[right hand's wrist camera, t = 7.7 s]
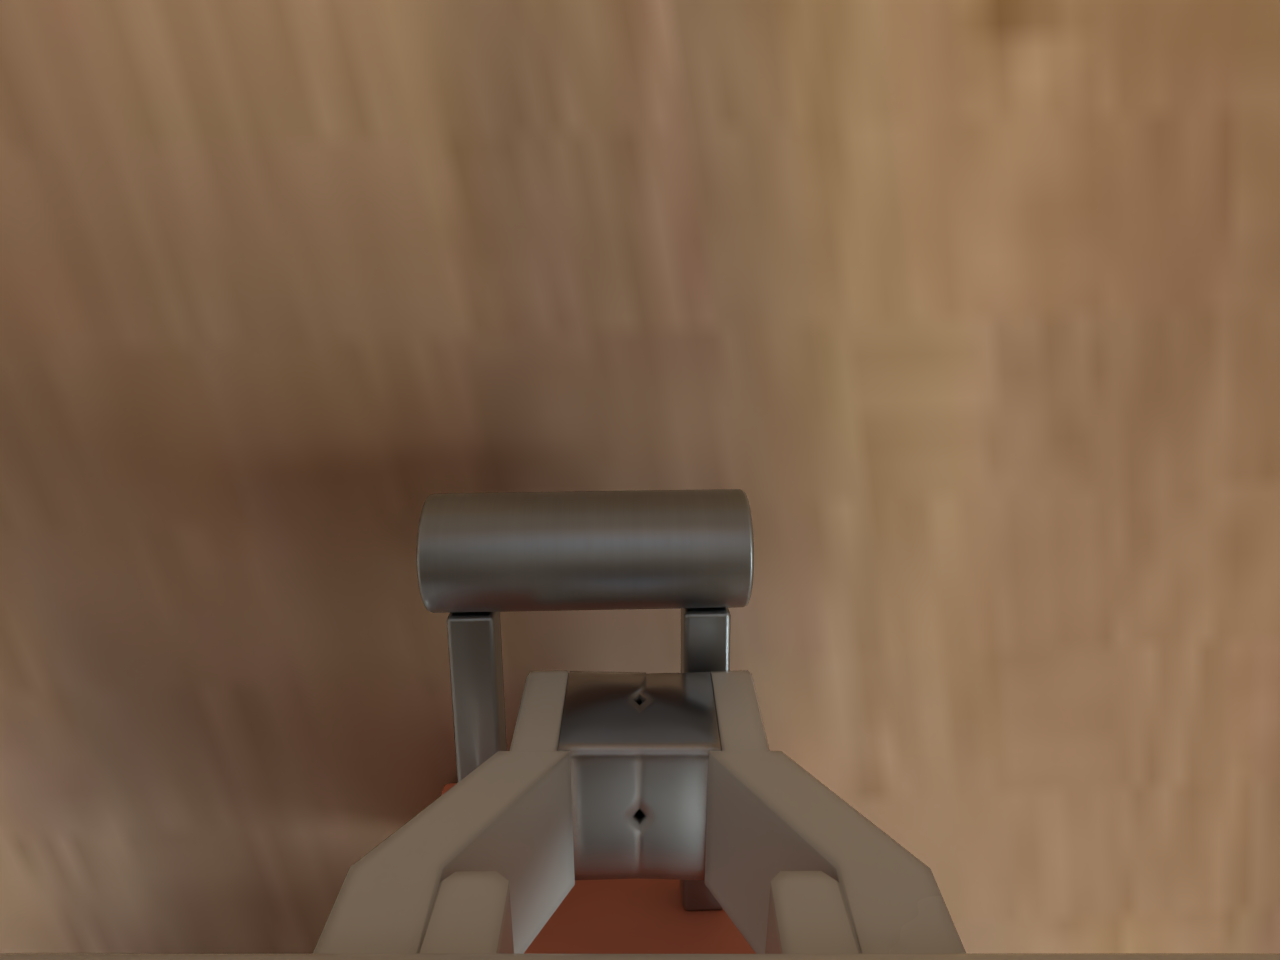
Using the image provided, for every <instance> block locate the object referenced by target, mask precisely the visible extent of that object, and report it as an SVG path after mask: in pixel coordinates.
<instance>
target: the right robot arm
mask: <svg viewBox="0 0 1280 960" xmlns="http://www.w3.org/2000/svg"><path fill="white" fill-rule="evenodd" d="M638 878H639V879H675V880H705V885H706V886H707V888H708V889H709V891H710V892H711V893H712V895H713V896H714V897H715V899H716V900H717V901H718V903H719V904H720V905H721V907H722V908H723V910H724V911H725V912H726V914H727V915H728V916H729V918H730V919H731V920H732V922H733V923H734V924H735V926H736V927H737V929H738V930H739V931H740V933H741V934H742V935H743V937H744V938H745V939H746V941H747V942H748V943H749V945H750V946H751V948H752V949H753V950H754V952H755V953H756V954H524V952H525V951H526V950H527V948H528V947H529V946H530V944H531V943H532V942H533V940H534V939H535V938H536V936H537V935H538V934H539V932H540V931H541V930H542V928H543V927H544V926H545V924H546V923H547V921H548V920H549V919H550V917H551V916H552V915H553V913H554V912H555V911H556V909H557V908H558V907H559V905H560V904H561V903H562V901H563V900H564V899H565V897H566V896H567V895H568V893H569V892H570V890H571V889H572V888H573V886H574V885H575V880H604V879H638ZM0 960H1280V954H966V952H965V949H964V947H963V945H962V942H961V940H960V938H959V935H958V933H957V930H956V928H955V926H954V923H953V921H952V919H951V916H950V914H949V912H948V909H947V907H946V904H945V902H944V900H943V897H942V895H941V893H940V890H939V888H938V886H937V883H936V881H935V879H934V876H933V874H932V871H931V869H930V868H929V867H928V866H926V865H925V864H924V863H922V862H921V861H920V860H919V859H917V858H916V857H915V856H914V855H912V854H911V853H910V852H909V851H907V850H906V849H905V848H903V847H902V846H901V845H900V844H898V843H897V842H896V841H895V840H893V839H892V838H891V837H890V836H888V835H887V834H886V833H884V832H883V831H882V830H881V829H879V828H878V827H877V826H876V825H874V824H873V823H872V822H871V821H869V820H868V819H867V818H865V817H864V816H863V815H862V814H860V813H859V812H858V811H857V810H855V809H854V808H853V807H851V806H850V805H849V804H848V803H846V802H845V801H844V800H843V799H841V798H840V797H839V796H838V795H836V794H835V793H834V792H832V791H831V790H830V789H829V788H827V787H826V786H825V785H824V784H822V783H821V782H820V781H819V780H817V779H816V778H815V777H813V776H812V775H811V774H810V773H808V772H807V771H806V770H805V769H803V768H802V767H801V766H800V765H798V764H797V763H796V762H794V761H793V760H792V759H791V758H789V757H788V756H787V755H786V754H784V753H783V752H782V751H770V750H769V746H768V741H767V737H766V733H765V729H764V724H763V720H762V716H761V711H760V707H759V703H758V699H757V694H756V690H755V686H754V681H753V677H752V674H751V673H750V672H749V671H748V670H743V671H715V672H693V673H649V674H646V673H640V672H591V671H570V673H569V672H568V671H531V672H530V673H529V674H528V676H527V678H526V682H525V686H524V691H523V695H522V699H521V704H520V708H519V712H518V716H517V721H516V725H515V729H514V734H513V738H512V742H511V747H510V751H498V752H496V753H495V754H494V755H492V756H491V757H490V758H489V759H487V760H486V761H485V762H484V763H482V764H481V765H480V766H478V767H477V768H476V769H475V770H473V771H472V772H471V773H469V774H468V775H467V776H466V777H464V778H463V779H462V780H461V781H459V782H458V783H457V784H455V785H454V786H453V787H452V788H450V789H449V790H448V791H447V792H445V793H444V794H443V795H441V796H440V797H439V798H438V799H436V800H435V801H434V802H432V803H431V804H430V805H429V806H427V807H426V808H425V809H424V810H422V811H421V812H420V813H418V814H417V815H416V816H415V817H413V818H412V819H411V820H410V821H408V822H407V823H406V824H404V825H403V826H402V827H401V828H399V829H398V830H397V831H396V832H394V833H393V834H392V835H390V836H389V837H388V838H387V839H385V840H384V841H383V842H381V843H380V844H379V845H378V846H376V847H375V848H374V849H373V850H371V851H370V852H369V853H367V854H366V855H365V856H364V857H362V858H361V859H360V860H359V861H357V862H356V863H355V864H353V865H352V866H351V867H350V868H349V870H348V873H347V875H346V877H345V880H344V882H343V884H342V886H341V889H340V891H339V893H338V896H337V898H336V900H335V903H334V905H333V907H332V910H331V912H330V914H329V917H328V919H327V921H326V924H325V926H324V928H323V931H322V933H321V935H320V937H319V940H318V942H317V944H316V947H315V949H314V951H313V954H127V953H0Z"/></svg>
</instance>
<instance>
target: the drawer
mask: <svg viewBox="0 0 1280 960" xmlns="http://www.w3.org/2000/svg"><path fill="white" fill-rule="evenodd" d="M753 571H754V543H753V528H752V518H751V511H750V506H749V502H748V499H747V496H746V494H745V492H744V491H743V490H740V489H722V490H654V491H587V492H519V493H452V494H432V495H430V496H428V497H427V499H426V501H425V503H424V505H423V508H422V512H421V515H420V520H419V526H418V536H417V574H418V583H419V589H420V593H421V597H422V600H423V603H424V605H425V607H426V609H427V610H428V611H430V612H433V613H450V614H449V616H448V619H447V631H448V646H449V661H450V676H451V691H452V706H453V721H454V736H455V751H456V766H457V781H458V782H459V781H461V780H462V779H463V778H464V777H466V776H467V775H468V774H469V773H471V772H472V771H473V770H475V769H476V768H477V767H478V766H480V765H481V764H482V763H484V762H485V761H486V760H487V759H489V758H490V757H491V756H492V755H494V754H495V753H496V752H498V751H507V744H506V724H505V705H504V685H503V665H502V646H501V626H500V612H504V611H559V610H613V609H668V608H681V673H693V672H715V671H730V619H731V615H730V612H729V609H728V607H744V606H746V605H747V604H748V602H749V600H750V596H751V592H752V585H753ZM455 784H457V783H449V784H446V785H445V786H444V788H443V791H442V794H441V795H443V794H444V793H445V792H447V791H448V790H449V789H450V788H452V787H453V786H454V785H455ZM524 954H756V953H755V952H754V950H753V949H752V948H751V946H750V945H749V943H748V942H747V941H746V939H745V938H744V937H743V935H742V934H741V933H740V931H739V930H738V929H737V927H736V926H735V924H734V923H733V922H732V920H731V919H730V918H729V916H728V915H727V914H726V912H725V911H724V910H723V908H722V907H721V905H720V904H719V903H718V901H717V900H716V899H715V897H714V896H713V895H712V893H711V892H710V891H709V889H708V888H707V886H706V885H705V880H675V879H639V878H638V879H604V880H575V885H574V886H573V888H572V889H571V890H570V892H569V893H568V895H567V896H566V897H565V899H564V900H563V901H562V903H561V904H560V905H559V907H558V908H557V909H556V911H555V912H554V913H553V915H552V916H551V917H550V919H549V920H548V921H547V923H546V924H545V926H544V927H543V928H542V930H541V931H540V932H539V934H538V935H537V936H536V938H535V939H534V940H533V942H532V943H531V944H530V946H529V947H528V948H527V950H526V951H525V952H524Z"/></svg>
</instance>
